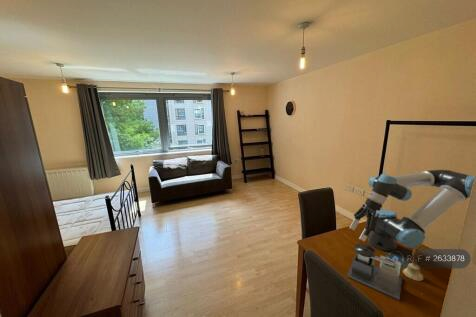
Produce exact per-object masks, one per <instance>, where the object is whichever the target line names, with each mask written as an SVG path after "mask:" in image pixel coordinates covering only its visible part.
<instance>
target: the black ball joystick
mask: <svg viewBox="0 0 476 317" xmlns="http://www.w3.org/2000/svg"><path fill="white" fill-rule="evenodd" d="M354 250H355V252H357V253H358V259H357V261H359V262H361V263H364V264H366V265H369V264H370V258H372V259H375V261H378V262H380V261H381V262H383V263H386V264H389V265H391V266H394V262H391V261H389V260H386V259H383V258H381V256H377V255H375V254H376V251H375V249H374V248H373V246H372V245H370V244H369V245H368V244H365V243H357V244H355V245H354Z"/></svg>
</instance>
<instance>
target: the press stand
mask: <svg viewBox="0 0 476 317" xmlns="http://www.w3.org/2000/svg"><path fill="white" fill-rule="evenodd" d="M355 252H356V251H355ZM380 258H383V259H386V260H389V261H391V262H394V265H395V268H392V267H390V266H387V265H384V264H385V263H383V262H381V261H379V266H377V265H375V261H376V260H375V259H372V258H370V264H369V265H366V264H364V263H361V262H359V261H357V259H358V253H357V252H356V253H355V255H354V256H353V259H352V262H351V265H350V266H349V270H348V272H347V273H346V277H347V278H349V279H352V280H354V281H355V282H358V283H360V284H362V285H365V286H367V287H369V288H371V289H373V290H376V291H378V292H381V293H382V294H384V295H387V296H389V297H391V298H392V299H395V300H397V301H400V298H401V293H402V292H401V291H402V284H403V283H402V282H403V275H400V271H401V266H402V262H401V261H398V260H395V259H392V258H390V257H387V256H384V255H382V254H381V255H380Z"/></svg>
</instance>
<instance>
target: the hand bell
mask: <svg viewBox="0 0 476 317" xmlns="http://www.w3.org/2000/svg"><path fill="white" fill-rule="evenodd" d="M411 255H412V256H411V257H412V263H411V262H410V263H408V264H407V267H406V268H403V269H402V274H404V276H406V277H407V278H409V279H410V280H414V281H416V282H417V281H418V282H420V281H423V280H424V276H423V274H422V273H421V270H420V266H419V265H418V264H417V262H418V259H419V256H420V252H419V248H418V246H417V247H413V250H412V254H411Z"/></svg>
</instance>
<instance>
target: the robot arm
mask: <svg viewBox="0 0 476 317" xmlns="http://www.w3.org/2000/svg"><path fill="white" fill-rule="evenodd" d="M474 178H476V176H475V175H472V174H466V173H462V172H458V171H453V170H450V169H431V170H422V171H420V172H419V173H409V174H403V175H389V174H387V173H381V174H380V176H376V175H373V176H371V177H370V178H369V180H368V186H369V187H370V188H372V190H371V191H370V192H369V195H368V198H366V200H365V202H364V204H362V206H361V207H360V208H359V209H358V210H357V211H356V212H355V213H354V214H353V216H354V218H353V221H352V223H351V224H350V226H349V229H350V230H353V231H355V229H356V228H357V226H358V224H359V222H360V221H361V219H363V218H364V217H366V227H364V229H363V231H362V232H361V234H360V236H359V238H358V239H359V240H360V241H362V242H365V241H366V240H367V242H368V243H369V245H370V246H371V247H374V248H375V249H378V250H381V251H385V252H393V251H395V250H396V249H397V242H398V243H399V244H401V245H403V246H404V247H406V248H413V249H414V248H415V247H417V248H418V247H419V246H421V245H422V244H423V243H424V240H425V239H426V235H425V234H426V228H427V227H429V226H430V225H431V224H432V223H434V222H435V221H436V220H437V219H438V218H440V217H441V216H442V215H443V214H445V213H446V212H447V211H448V210H449V209H451V208H452V207H453V206H454V205H455V204H457V203H458V202H465V200H467V199H468V198H470V194H471V190H472V186H473V182H474ZM420 186H421V187H422V186H424V187H435V188H439V189H440V190H439V191H438V192H437V193H436V194H434V195H433V196H432V197H431V198H429V199H428V200H427V201H426V202H424V204H422V205H421V206H420V207H419V208H417V209H416V210H415V211H414V212H412V214H410V215H409V216H403V217H402V218H401V219H400V218H398V215H397V212H395V211H393V210H389V209H382V207H383V205H384V204H385V202H386V201H387V198H388V197H389V196H390V197H392V198H394V199H397V200H400V201H402V202H403V201H404V202H406V201H409V200H410V199H412V197H413V193H412V190H411V189H409V188H410V187H420ZM396 241H397V242H396Z"/></svg>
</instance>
